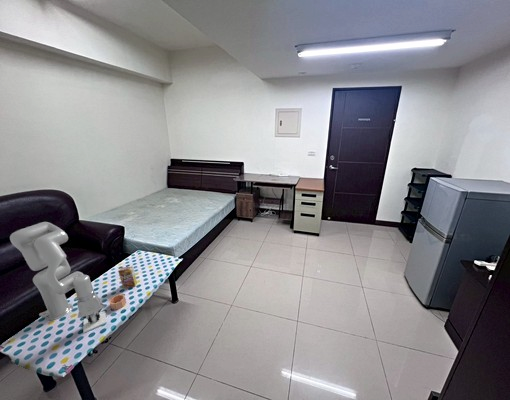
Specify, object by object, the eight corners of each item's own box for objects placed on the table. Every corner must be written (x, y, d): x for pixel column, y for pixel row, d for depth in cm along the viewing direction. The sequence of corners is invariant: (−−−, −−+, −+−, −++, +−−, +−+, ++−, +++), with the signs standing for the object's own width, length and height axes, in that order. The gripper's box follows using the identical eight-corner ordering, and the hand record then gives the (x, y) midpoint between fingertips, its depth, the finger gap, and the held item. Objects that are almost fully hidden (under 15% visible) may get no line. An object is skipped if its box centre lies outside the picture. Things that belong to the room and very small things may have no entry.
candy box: (122, 288, 159) (117, 270, 154) (125, 284, 163) (120, 267, 158) (135, 286, 160) (130, 269, 155) (137, 283, 164) (133, 265, 160)
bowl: (111, 312, 138) (110, 306, 136) (110, 304, 144) (108, 298, 143) (127, 305, 143) (125, 299, 141) (125, 298, 149) (123, 292, 148)
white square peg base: (83, 333, 123) (80, 325, 122) (84, 320, 132) (81, 313, 130) (106, 322, 130) (104, 315, 128) (105, 311, 138) (103, 304, 136)
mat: (85, 334, 123) (84, 333, 123) (85, 320, 133) (85, 319, 133) (105, 324, 129) (105, 323, 129) (104, 312, 138) (104, 311, 138)
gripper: (67, 306, 117) (77, 332, 123) (103, 292, 126) (111, 317, 132) (68, 298, 123) (77, 323, 129) (102, 286, 132) (110, 309, 138)
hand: (94, 320), depth 130 cm, fingers closed on white square peg base, 3 cm apart
